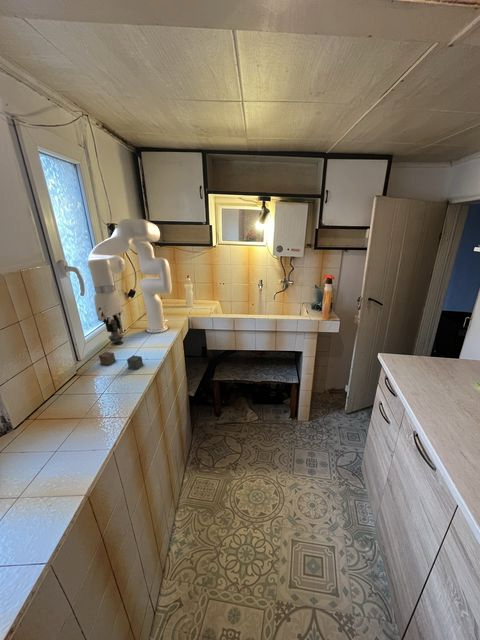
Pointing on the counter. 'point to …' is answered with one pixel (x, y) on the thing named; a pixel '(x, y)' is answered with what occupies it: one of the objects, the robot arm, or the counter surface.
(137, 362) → the slate block
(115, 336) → the stone chess piece
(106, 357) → the walnut block
